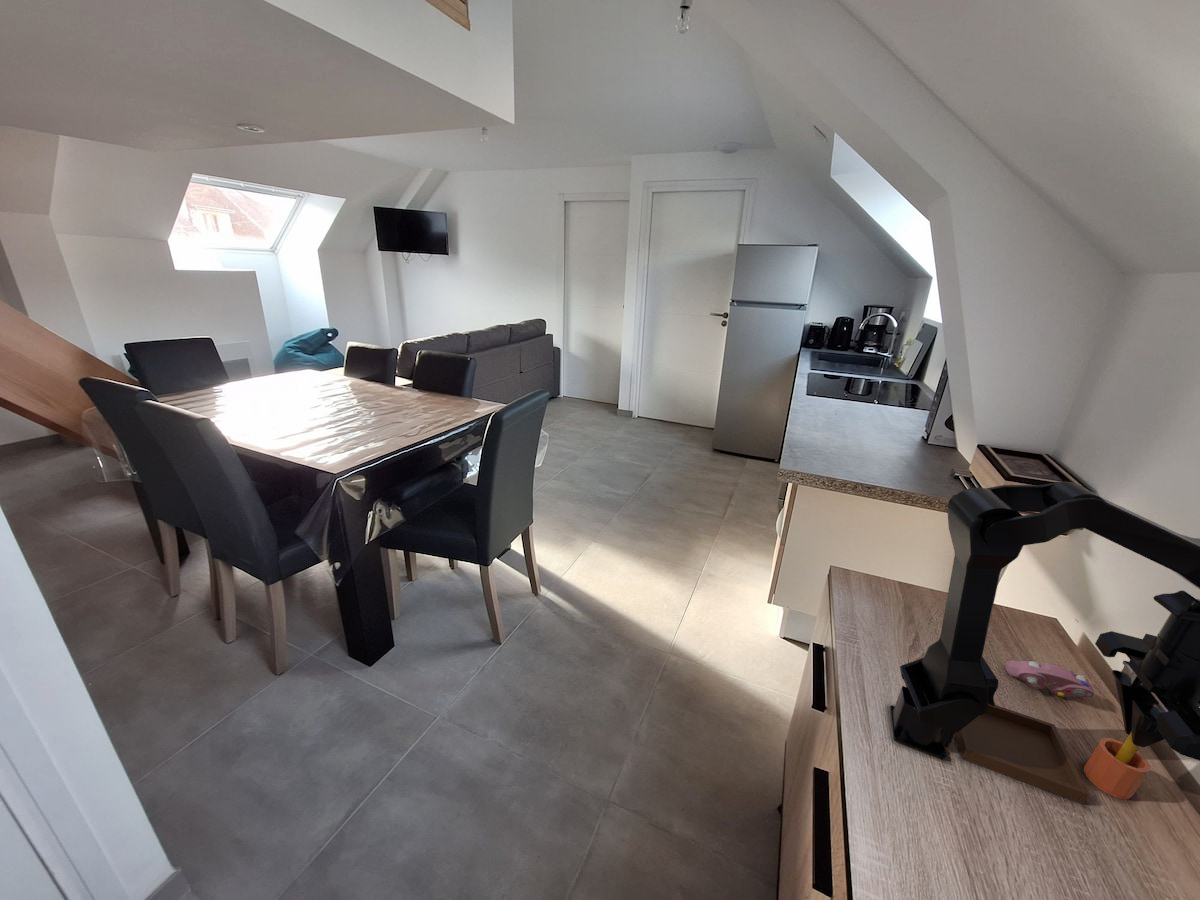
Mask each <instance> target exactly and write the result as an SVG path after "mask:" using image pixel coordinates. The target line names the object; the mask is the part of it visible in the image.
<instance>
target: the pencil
mask: <svg viewBox="0 0 1200 900" xmlns="http://www.w3.org/2000/svg"><path fill="white" fill-rule="evenodd" d="M1123 743H1124V744H1123V745H1122V747H1121V748H1120V750H1119V751H1118V753H1117V755H1116V756H1115V758H1116V759H1118V760H1120V761H1122V762H1123V763H1125V764H1127V765H1128V763H1129V762H1130V760H1131V759H1132V757H1133V756H1134V754H1135V753H1136V751H1137V752H1138V750H1139V748H1141V747H1140V746H1137V745H1134V744H1133V742H1132V735H1131V733H1130V734H1129V735H1128V736H1127V737H1126V739H1125V741H1124V742H1123Z"/></svg>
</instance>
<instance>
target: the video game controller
mask: <svg viewBox="0 0 1200 900" xmlns="http://www.w3.org/2000/svg"><path fill="white" fill-rule="evenodd" d="M1005 670H1006V672H1007V673H1008V674H1009V675H1010V676H1012V677H1014V678H1017V679H1020V680H1022V681H1024V682H1025V683H1026V686H1027V687H1029V688H1031V689H1036V690H1044V689H1045V688H1046V684H1045V683H1048V684H1049V689H1050V693H1051V694H1053V695H1055V696H1058V697H1061V698H1063V697H1064V698H1067V697H1068V698H1069V697H1075V698H1082V699H1083V698H1084V699H1088V698H1089V699H1090V698H1093V697H1094V696H1095V691H1094V687H1093V685H1092V684H1091V683H1090V681H1089V680H1088V679H1087V678H1086V676H1085V675H1082V674H1077V673H1074V672H1073V671H1071V670H1068V669H1067V668H1065V667H1063V666H1060V665H1058V664H1052V663H1041V662H1036V661H1031V660H1030V661H1029V660H1020V661H1019V660H1014V659H1013V660H1012V659H1010V660H1008V661H1007V662H1006V664H1005Z"/></svg>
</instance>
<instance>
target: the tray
mask: <svg viewBox="0 0 1200 900" xmlns="http://www.w3.org/2000/svg"><path fill="white" fill-rule="evenodd" d="M954 736H955V739H956V742H957V746H958V749H959V750H958V751H959V754H960V757H961V759H962V760H963V761H964V760H965V761H966V762H969V763H972V764H975V765H977V766H981V767H983V768H986V769H988V770H991V771H994V772H996V773H999V774H1002V775H1004V776H1006V777H1009V778H1012V779H1014V780H1017V781H1020V782H1022V783H1025V784H1028V785H1030V786H1033V787H1036V788H1039V789H1041V790H1044V791H1046V792H1049V793H1052V794H1054V795H1056V796H1060V797H1061V798H1065V799H1067V800H1070V801H1073V802H1075V803H1078V804H1080V805H1084V804H1085V802H1086V801H1087V799H1088V798H1089V797H1090V793H1089V791H1088V789H1087V787H1086V785H1085V782H1084V781H1083V778H1082V777H1081V775H1080V773H1079V771H1078V769H1077V767H1076V765H1075V762H1074V761H1073V759H1072V757H1071V755H1070V753H1069V751H1068V749H1067V746H1066V745H1065V743H1064V741H1063V739H1062V737H1061V735H1060V733H1059V731H1058V729H1057V727H1056V725H1055V724H1053V723H1050V722H1049V721H1045V720H1042V719H1039V718H1036V717H1032V716H1029V715H1026V714H1024V713H1020V712H1018V711H1015V710H1012V709H1008V708H1005V707H1003V706H1000V705H996V704H995V706H992V705H990V704H989V707H988V709H987V711H986V712H985V713H984V714H983V715H979V716H978V717H977V718H975V719H974V720H973V721H972V722H970V723H969V724H968V725H967V726H965V727H964V728H963V729H962V730H961V731H959V732H955V734H954Z"/></svg>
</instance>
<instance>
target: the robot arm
mask: <svg viewBox="0 0 1200 900" xmlns="http://www.w3.org/2000/svg"><path fill="white" fill-rule="evenodd" d="M946 509H947V523H948V524H947V525H948V531H949V536H950V539H951V543H952V547H953V551H954V556H953V557H954V558H953V563H952V568H951V572H950V573H951V574H950V579H949V585H948V591H947V597H946V603H945V606H944V607H945V608H944V613H943V619H942V625H941V630H940V636H939V639H938V640H936V641H935V642H933V643H932V644H930V645H929V646H928V647H927V649H926V652H925V654H924V656H923V657H922V658H918V659H916V660H913V661H910V662H908V663H905V664H902V665H900V666H899V670H900V676H901V679H902V680H903V682H904V684H905V685H902V686H901V688H900V691H899V694H898V697H897V699H896V701H895V704H894V705H893V704H892V705H890V706H889V716H890V724H891V730H892V738H893V740H894V742H896V743H898V744H902V745H904V746H907V747H909V748H912V749H915V750H917V751H919V752H922V753H923V754H924V753H925V754H926V755H927V754H928V755H930V756H932V757H935V758H937V759H940V760H944V761H945V760H946V759H947V752H946V748H949V747H950V746H951V743H952V741H953V738H954V737H955V732H959V731H961V730H962V729H963V728H964V727H965V726H967V725H968V724H969V723H970V722H972V721H973V720H974V719H975V718H977V717H978V716H979V715H983V714H984V713H985V712H986V711H987V709H988V707H989V704H990V705H992V706H995V705H996V703H995V700H994V699H995V697H994V696H995V695H996V694H995V693H996V692H997V690H998V689H999V679H998V678H997V676H996V674H995V673H994V672H993V670H992V669H991V667H990V666H989V664H988V662H987V660H986V659H985V657H984V655H983V654H984V649H985V645H986V641H987V635H988V632H989V627H990V622H991V618H992V613H993V608H994V604H995V599H996V596H997V595H996V594H997V591H998V586H999V582H1000V576H1001V572H1002V570H1003V569H1005V567H1007V566H1008V565H1009V564H1011V563H1012V562H1014V561H1015V560H1016V559H1018V557H1019V556H1020V554H1021V552H1022V550H1023V548H1024V546H1030V545H1036V544H1043V543H1047V542H1051V541H1052V540H1054V539H1056V538H1058V537H1060V536H1062V535H1063V534H1065V533H1067V532H1069V531H1071V530H1072V531H1073V530H1078V529H1085V530H1088V531H1089V532H1092V533H1093V534H1095V535H1098V536H1099V537H1102V538H1104V539H1106V540H1108V541H1110V542H1112V543H1114V544H1117V545H1118V546H1121V547H1122V548H1125V549H1127V550H1129V551H1131V552H1132V553H1135V554H1137V555H1140V556H1142V557H1144V558H1145V559H1148V560H1149V561H1152V562H1154V563H1156V564H1158V565H1161V566H1163V567H1165V568H1166V569H1169V570H1170V571H1172V572H1173V573H1175V574H1176V575H1178V576H1179V577H1181V578H1182V579H1183V580H1185V581H1186V582H1188V584H1190V585H1192V586H1193V587H1195V588H1197V589H1198V590H1200V538H1198V537H1191V536H1188V535H1184V534H1180V533H1178V532H1176V531H1174V530H1171V529H1169V528H1168V527H1166V526H1164V525H1161V524H1159V523H1157V522H1155V521H1153V520H1152V519H1151V520H1150V519H1149V518H1147V517H1144V516H1142V515H1140V514H1138V513H1136V512H1133V511H1131V510H1130V509H1127V508H1125V507H1123V506H1121V505H1118V504H1116V503H1114V502H1112V501H1110V500H1108V499H1106V498H1104V497H1102V496H1099V495H1097V494H1096V493H1094V492H1092V491H1091V490H1090V489H1087V488H1086V487H1084V486H1082V485H1081V484H1079V483H1076V482H1073V481H1056V482H1049V483H1045V484H1002V485H996V486H991V487H970V488H966V489H963V490H961V491H960V492H958V493H956V494H953V495H952V496H951V497H950V498H949V501H948V503H947V508H946ZM1021 512H1022V513H1023V512H1024V513H1030V514H1025V515H1022V514H1021ZM1153 601H1155V602H1156V603H1158V605H1160V606H1161V607H1162V608H1164V609H1165V610H1167V611H1168V612H1169V615H1168V617H1167V618H1166V620H1165V622H1164V623H1163V625H1162V627H1161V628H1160V630H1159V632H1158V633H1157V634H1156V635H1153V634H1149V633H1145V634H1144V636H1143V638H1140V637H1135V636H1133V635H1128V634H1125V633H1121V632H1117V631H1113V630H1111V631H1107V632H1102V633H1100V634H1099V636H1098V637H1097V640H1096V641H1095V643H1094V645H1095V646H1096V648H1097V649H1098V650H1099V652H1100V653H1101V654H1102V656H1103V657H1106V658H1116V655H1117V654H1118V653H1120V654H1124V655H1126V656H1127V658H1128V659H1129V661H1128V660H1123V661H1122V664H1123V668H1122V669H1121V670H1117V669H1113V670H1112V671H1111V674H1112V676H1113V678H1114V683H1115V687H1116V691H1117V697H1118V700H1119V705H1120V710H1121V714H1122V721H1123V726H1124V732H1125V733H1126V735H1128V736H1129V734H1130V733H1131V735H1132V742H1133V744H1134V745H1137V746H1140V747H1139V748H1147V747H1149V746H1152V745H1154V744H1157V743H1159V742H1162V741H1165V742H1166V743H1167V745H1168V746H1169V748H1170V749H1171V750H1172V751H1174V752H1176V753H1178V754H1179V755H1181V756H1183V757H1187V758H1190V759H1192V760H1196V761H1199V762H1200V598H1195V597H1194V596H1193V595H1191V594H1190V593H1188V592H1187V591H1186V590H1183V589H1182V590H1179V591H1176V592H1170V593H1161V594H1156V595H1154V596H1153Z"/></svg>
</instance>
